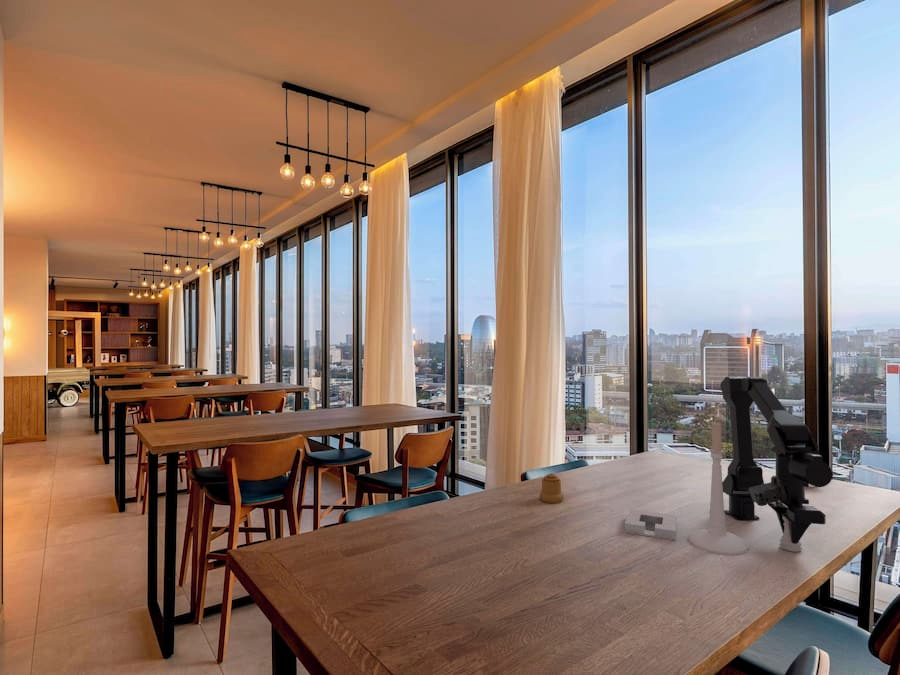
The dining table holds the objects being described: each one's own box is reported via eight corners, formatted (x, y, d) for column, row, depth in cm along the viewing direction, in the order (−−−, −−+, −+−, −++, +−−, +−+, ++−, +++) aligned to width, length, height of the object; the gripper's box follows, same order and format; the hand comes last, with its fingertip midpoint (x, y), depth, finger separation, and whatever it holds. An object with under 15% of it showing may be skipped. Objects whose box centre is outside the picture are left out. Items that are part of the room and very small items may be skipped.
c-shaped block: (629, 517, 138) (629, 509, 138) (676, 524, 132) (676, 515, 133) (624, 532, 127) (624, 523, 127) (675, 540, 122) (675, 530, 122)
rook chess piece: (792, 553, 114) (791, 519, 114) (774, 545, 118) (774, 512, 118) (806, 551, 115) (806, 517, 115) (789, 543, 119) (788, 511, 120)
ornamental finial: (554, 495, 158) (568, 502, 151) (534, 498, 155) (547, 505, 148) (554, 470, 158) (568, 476, 151) (534, 472, 155) (547, 479, 148)
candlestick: (676, 537, 124) (676, 419, 124) (714, 530, 128) (713, 416, 129) (720, 558, 112) (719, 427, 112) (760, 549, 116) (759, 424, 117)
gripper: (738, 463, 128) (738, 523, 127) (770, 484, 109) (771, 554, 109) (785, 465, 125) (785, 526, 125) (826, 486, 107) (827, 558, 107)
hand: (790, 540), depth 117 cm, fingers closed on rook chess piece, 3 cm apart
